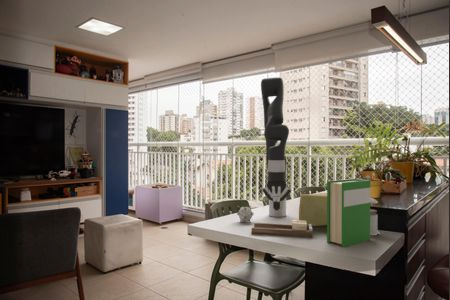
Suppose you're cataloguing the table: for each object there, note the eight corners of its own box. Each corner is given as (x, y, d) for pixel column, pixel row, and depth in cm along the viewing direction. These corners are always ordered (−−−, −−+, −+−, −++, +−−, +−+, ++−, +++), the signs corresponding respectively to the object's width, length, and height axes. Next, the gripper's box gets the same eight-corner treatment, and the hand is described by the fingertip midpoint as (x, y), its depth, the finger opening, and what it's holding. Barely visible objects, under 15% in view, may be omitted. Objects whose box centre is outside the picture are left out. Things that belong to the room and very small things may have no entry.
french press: (366, 236, 133) (366, 176, 133) (348, 229, 144) (348, 174, 144) (385, 234, 135) (385, 176, 135) (366, 227, 146) (366, 174, 146)
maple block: (292, 229, 139) (292, 220, 139) (306, 229, 138) (306, 220, 138) (292, 232, 134) (292, 223, 134) (306, 233, 132) (306, 223, 132)
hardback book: (343, 247, 117) (343, 182, 117) (326, 242, 123) (327, 181, 123) (370, 239, 127) (370, 180, 127) (353, 235, 133) (353, 178, 133)
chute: (254, 228, 145) (254, 220, 145) (311, 231, 140) (311, 223, 140) (251, 234, 135) (251, 225, 135) (312, 237, 130) (312, 229, 130)
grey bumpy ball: (247, 228, 159) (258, 211, 162) (247, 226, 152) (258, 208, 154) (232, 218, 162) (243, 202, 164) (231, 216, 154) (242, 199, 156)
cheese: (305, 229, 144) (305, 196, 144) (293, 224, 153) (293, 193, 153) (344, 225, 152) (344, 194, 152) (331, 221, 161) (331, 191, 161)
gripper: (292, 169, 140) (292, 208, 141) (262, 169, 143) (262, 207, 143) (292, 171, 133) (292, 212, 133) (260, 171, 135) (260, 211, 136)
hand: (276, 209), depth 138 cm, fingers closed
